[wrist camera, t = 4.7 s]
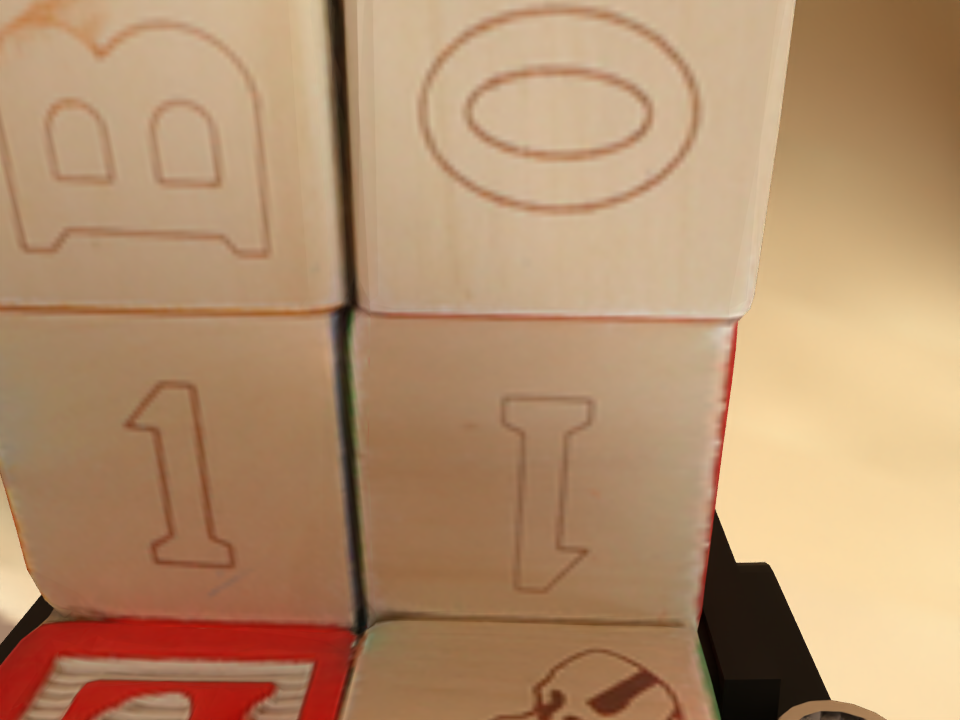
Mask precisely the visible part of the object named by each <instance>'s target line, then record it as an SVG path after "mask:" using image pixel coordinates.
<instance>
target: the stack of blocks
mask: <svg viewBox="0 0 960 720" xmlns="http://www.w3.org/2000/svg"><path fill="white" fill-rule="evenodd" d="M795 4H796V0H0V474H1V478H2V481H3V484H4V488H5V491H6V495H7V498H8V502H9V505H10V509H11V512H12V516H13V520H14V523H15V527H16V530H17V534H18V537H19V541H20V545H21V549H22V552H23V556H24V560H25V564H26V567H27V570H28V572H29V574H30V575H31V577H32V579H33V581H34V582H35V584H36V586H37V587H38V589H39V591H40V593H41V594H42V596H43V598H44V599H45V601H47V602H48V603H49V604H50V605H51V606H52V607H53V608H54V609H53V611H52V613H51V614H50V616H49V617H48V618H47V619H46V620H45V621H44V622H43V623H42V624H41V625H39V626H38V627H37V628H36V629H35V630H33V631H32V632H31V633H29V634H28V635H27V636H26V637H24V638H23V639H22V640H21V641H20V642H19V643H18V644H17V646H16V647H15V648H14V649H13V650H12V652H11V653H10V654H9V655H8V657H7V658H6V659H5V660H4V661H3V663H2V664H1V665H0V720H721V717H720V713H719V709H718V705H717V701H716V697H715V693H714V689H713V685H712V682H711V678H710V675H709V671H708V668H707V664H706V661H705V657H704V654H703V651H702V647H701V644H700V640H699V637H698V633H697V629H698V625H699V621H700V617H701V613H702V606H703V598H704V589H705V581H706V573H707V566H708V558H709V551H710V543H711V536H712V528H713V520H714V512H715V504H716V496H717V489H718V481H719V473H720V465H721V457H722V450H723V442H724V435H725V428H726V421H727V413H728V406H729V399H730V392H731V384H732V376H733V368H734V360H735V351H736V339H737V326H738V321H739V320H740V319H741V318H742V317H743V315H744V314H745V313H746V312H747V311H748V310H749V309H750V307H751V304H752V301H753V298H754V294H755V287H756V281H757V274H758V267H759V261H760V254H761V247H762V240H763V234H764V227H765V220H766V214H767V207H768V200H769V193H770V187H771V180H772V173H773V166H774V160H775V153H776V146H777V140H778V133H779V126H780V118H781V111H782V103H783V95H784V88H785V80H786V72H787V65H788V57H789V49H790V42H791V34H792V26H793V19H794V11H795Z"/></svg>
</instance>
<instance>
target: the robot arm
mask: <svg viewBox="0 0 960 720" xmlns="http://www.w3.org/2000/svg"><path fill="white" fill-rule="evenodd" d="M53 609H54V608H53V607H52V606H51V605H50V604H49V603H48V602H47V601H45V599H44V598H43V596H42V595H41V596H40V597H39V598H38V600H37V601H36V602H35V603H34V604H33V606H32V607H31V608H30V609H29V611H28V612H27V613H26V614H25V615H24V617H23V618H22V619H21V620H20V621H19V623H18V624H17V625H16V626H15V627H14V629H13V630H12V631H11V632H10V634H9V635H8V636H7V637H6V638H5V640H4V641H3V642H2V643H1V644H0V665H1V664H2V663H3V661H4V660H5V659H6V658H7V657H8V655H9V654H10V653H11V652H12V650H13V649H14V648H15V647H16V646H17V644H18V643H19V642H20V641H21V640H22V639H23V638H24V637H26V636H27V635H28V634H29V633H31V632H32V631H33V630H35V629H36V628H37V627H38V626H39V625H41V624H42V623H43V622H44V621H45V620H46V619H47V618H48V617H49V616H50V614H51V613H52V611H53ZM697 633H698V637H699V640H700V644H701V647H702V651H703V654H704V657H705V661H706V664H707V668H708V671H709V675H710V678H711V682H712V685H713V689H714V693H715V697H716V701H717V705H718V709H719V713H720V717H721V720H886V719H885V718H883V717H882V716H880V715H878V714H877V713H875V712H872V711H870V710H867V709H865V708H862V707H860V706H857V705H854V704H850V703H844V702H839V701H833V700H831V699H830V697H829V695H828V692H827V690H826V688H825V686H824V683H823V681H822V679H821V677H820V675H819V672H818V670H817V668H816V666H815V663H814V661H813V659H812V657H811V654H810V652H809V650H808V648H807V646H806V643H805V641H804V639H803V637H802V634H801V632H800V630H799V628H798V626H797V623H796V621H795V619H794V617H793V614H792V612H791V610H790V608H789V606H788V603H787V601H786V599H785V597H784V594H783V592H782V590H781V588H780V586H779V583H778V581H777V579H776V577H775V574H774V572H773V570H772V569H771V567H770V565H769V564H767V563H765V562H759V563H736V562H735V559H734V556H733V554H732V551H731V549H730V546H729V544H728V541H727V538H726V536H725V533H724V531H723V528H722V526H721V523H720V520H719V518H718V515H717V513H716V510H715V512H714V520H713V528H712V536H711V543H710V551H709V558H708V566H707V573H706V581H705V589H704V598H703V606H702V613H701V617H700V621H699V625H698V629H697Z"/></svg>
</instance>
